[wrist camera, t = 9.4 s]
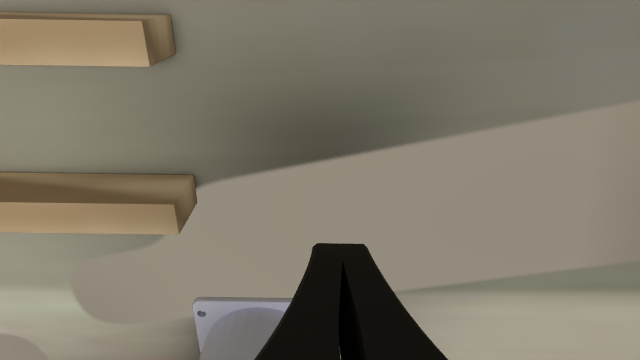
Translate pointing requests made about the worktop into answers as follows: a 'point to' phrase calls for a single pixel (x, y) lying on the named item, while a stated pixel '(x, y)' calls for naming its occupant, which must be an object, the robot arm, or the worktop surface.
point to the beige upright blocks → (81, 188)
